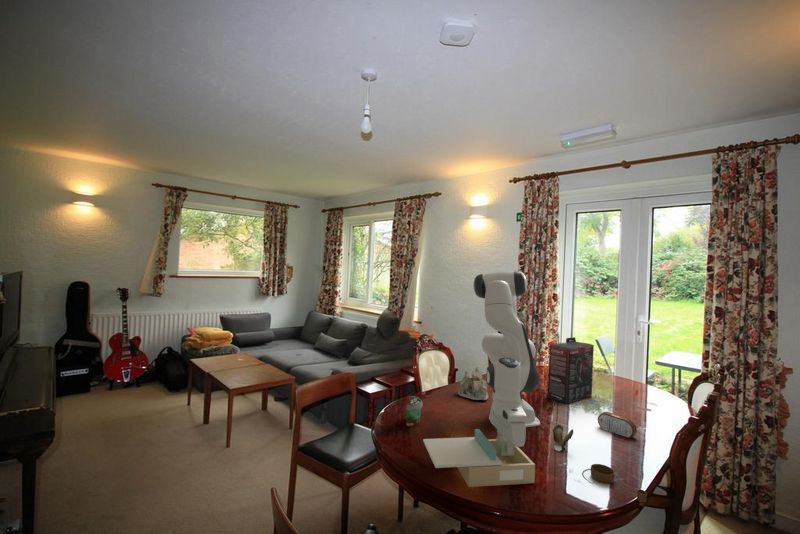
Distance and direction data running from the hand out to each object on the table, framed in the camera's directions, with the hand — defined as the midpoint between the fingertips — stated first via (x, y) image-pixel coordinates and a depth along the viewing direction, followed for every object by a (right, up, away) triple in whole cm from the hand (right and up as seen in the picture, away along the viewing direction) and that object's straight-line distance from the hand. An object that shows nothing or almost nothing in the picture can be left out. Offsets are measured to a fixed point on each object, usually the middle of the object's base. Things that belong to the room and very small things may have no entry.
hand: (505, 447), depth 127 cm
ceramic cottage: (+3, -9, +75) cm, 75 cm away
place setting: (+30, -10, -8) cm, 33 cm away
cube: (0, -2, 0) cm, 2 cm away
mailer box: (-5, -8, -1) cm, 10 cm away
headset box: (+58, -11, +79) cm, 99 cm away
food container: (-29, -8, +37) cm, 48 cm away
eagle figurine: (+27, -10, +16) cm, 33 cm away
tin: (+57, -11, +33) cm, 67 cm away
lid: (-16, -1, -2) cm, 16 cm away
